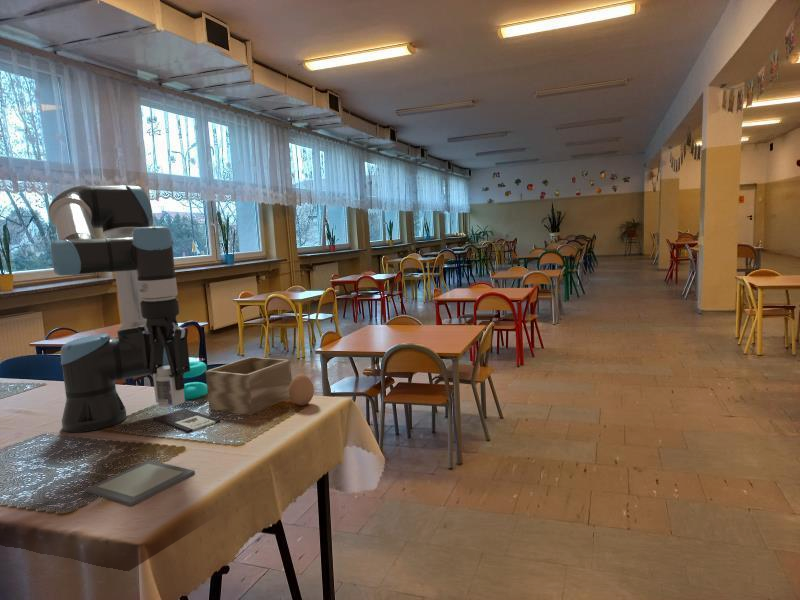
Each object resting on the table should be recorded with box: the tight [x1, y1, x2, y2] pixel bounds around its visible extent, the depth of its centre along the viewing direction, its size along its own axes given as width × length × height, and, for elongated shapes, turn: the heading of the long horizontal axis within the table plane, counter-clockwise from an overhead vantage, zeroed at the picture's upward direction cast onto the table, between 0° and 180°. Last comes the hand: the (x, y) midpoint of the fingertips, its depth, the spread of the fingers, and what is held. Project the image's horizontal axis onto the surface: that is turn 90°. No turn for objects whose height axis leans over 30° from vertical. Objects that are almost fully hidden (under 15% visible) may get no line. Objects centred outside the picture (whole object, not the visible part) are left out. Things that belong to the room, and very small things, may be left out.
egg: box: [289, 373, 315, 407], centre depth 148 cm, size 7×7×9 cm
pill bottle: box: [156, 365, 177, 408], centre depth 118 cm, size 5×5×8 cm
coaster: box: [84, 459, 196, 506], centre depth 105 cm, size 14×14×1 cm
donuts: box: [183, 360, 208, 401], centre depth 164 cm, size 10×10×10 cm
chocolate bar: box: [153, 408, 221, 434], centre depth 141 cm, size 9×1×18 cm
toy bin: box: [204, 356, 293, 416], centre depth 153 cm, size 16×18×11 cm
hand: (170, 402), depth 119 cm, fingers closed on pill bottle, 5 cm apart
